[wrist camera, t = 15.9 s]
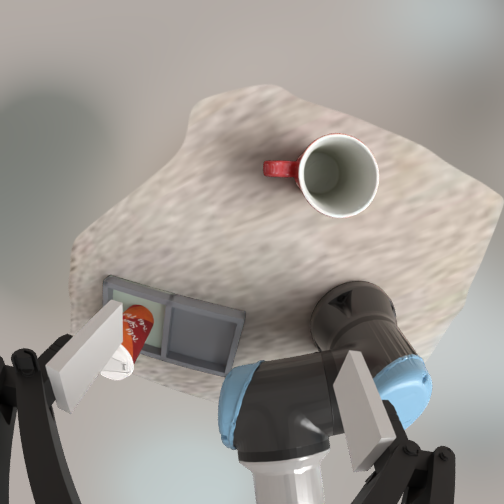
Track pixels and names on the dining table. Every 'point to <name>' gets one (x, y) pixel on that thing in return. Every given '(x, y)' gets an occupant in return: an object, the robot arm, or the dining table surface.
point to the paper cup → (129, 342)
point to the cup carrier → (182, 326)
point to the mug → (332, 175)
